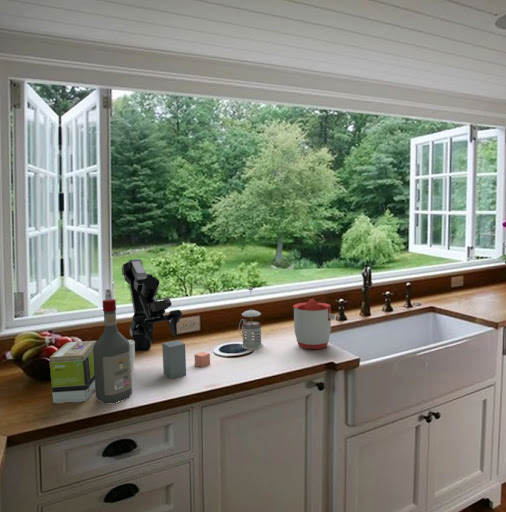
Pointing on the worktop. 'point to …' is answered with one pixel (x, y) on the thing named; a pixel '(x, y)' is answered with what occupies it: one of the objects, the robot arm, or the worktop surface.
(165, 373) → the grey tall block
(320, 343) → the citrus juicer
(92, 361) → the tea box
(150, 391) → the worktop surface
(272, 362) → the worktop surface
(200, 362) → the red block
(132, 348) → the white cup
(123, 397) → the liquor
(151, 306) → the robot arm
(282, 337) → the worktop surface
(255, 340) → the french press
